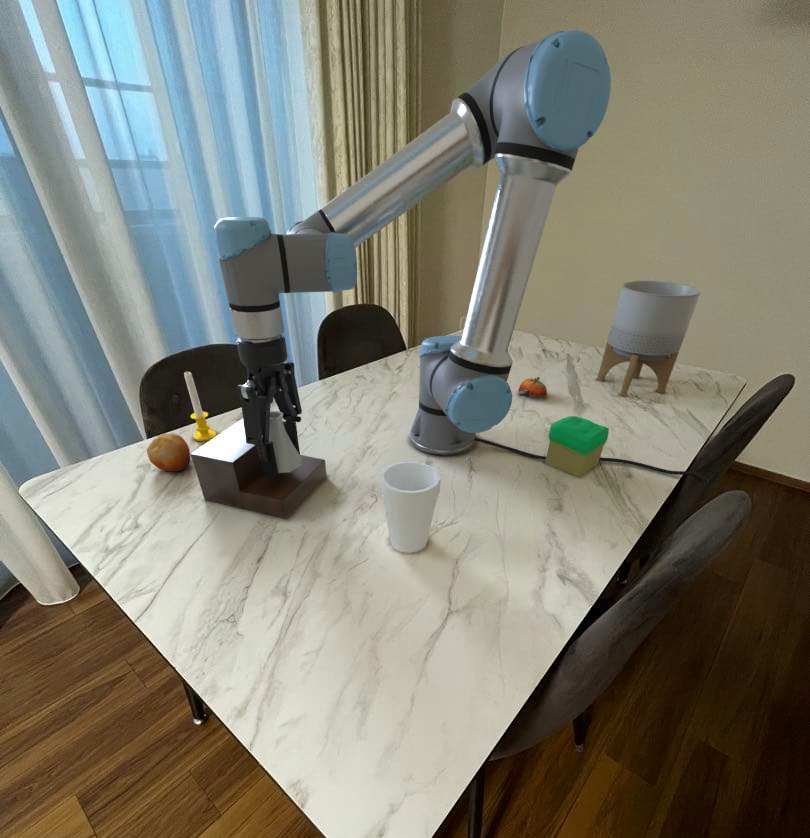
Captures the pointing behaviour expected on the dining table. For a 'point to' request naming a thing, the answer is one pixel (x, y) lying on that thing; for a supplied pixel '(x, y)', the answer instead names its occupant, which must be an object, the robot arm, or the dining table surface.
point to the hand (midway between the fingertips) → (282, 463)
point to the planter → (649, 329)
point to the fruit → (169, 452)
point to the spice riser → (252, 476)
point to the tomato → (533, 387)
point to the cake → (575, 444)
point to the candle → (198, 413)
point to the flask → (282, 444)
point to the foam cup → (409, 503)
